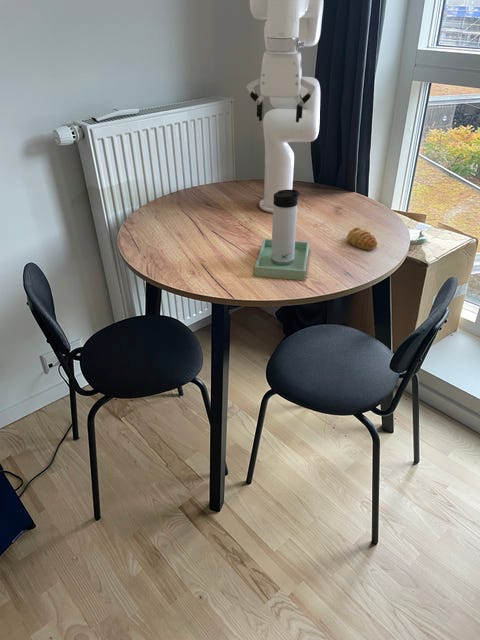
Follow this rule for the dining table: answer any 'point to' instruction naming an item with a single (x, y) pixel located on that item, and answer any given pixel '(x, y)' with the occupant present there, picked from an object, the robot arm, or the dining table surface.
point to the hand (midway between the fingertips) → (279, 120)
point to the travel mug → (284, 226)
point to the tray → (270, 269)
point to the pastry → (362, 239)
